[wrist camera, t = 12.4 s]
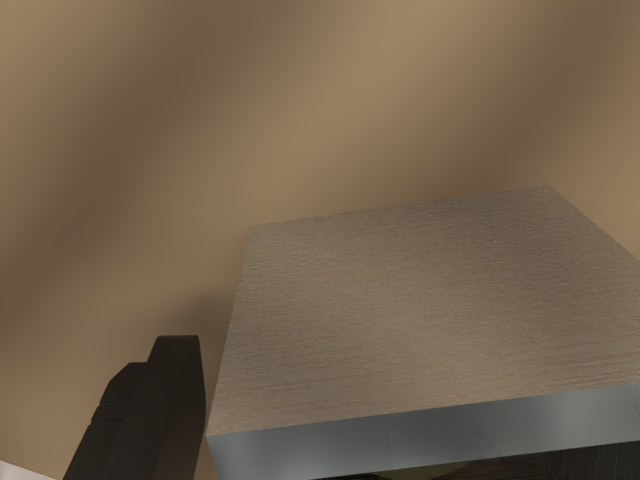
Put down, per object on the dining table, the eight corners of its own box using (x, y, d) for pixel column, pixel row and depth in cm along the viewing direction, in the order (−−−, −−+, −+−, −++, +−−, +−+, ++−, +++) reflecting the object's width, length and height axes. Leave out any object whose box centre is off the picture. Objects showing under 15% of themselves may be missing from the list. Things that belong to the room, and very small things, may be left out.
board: (-138, 359, 15) (-182, 397, 13) (209, -884, 7) (185, -1098, 5) (454, 575, 19) (466, 620, 18) (1066, -5, 12) (1166, -3, 10)
